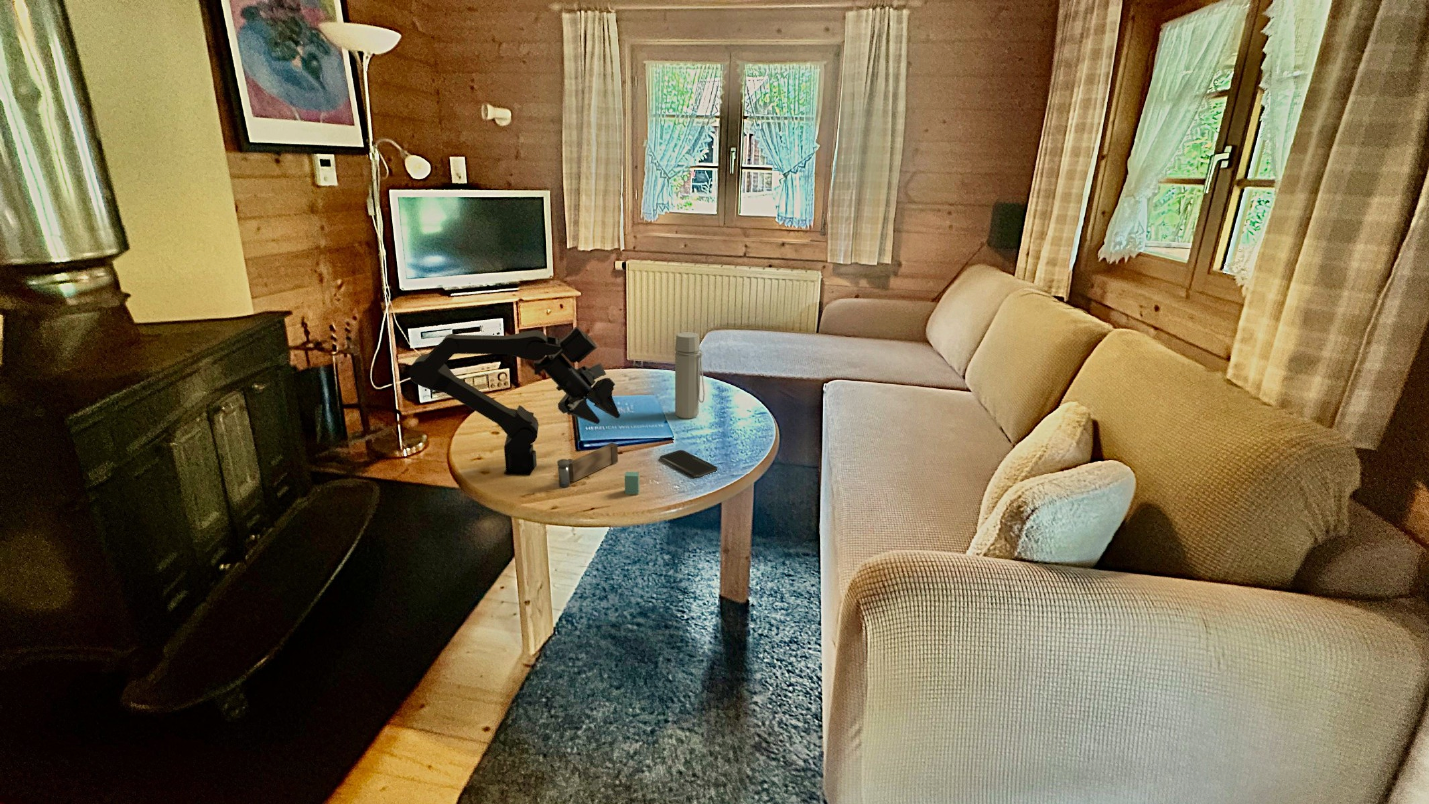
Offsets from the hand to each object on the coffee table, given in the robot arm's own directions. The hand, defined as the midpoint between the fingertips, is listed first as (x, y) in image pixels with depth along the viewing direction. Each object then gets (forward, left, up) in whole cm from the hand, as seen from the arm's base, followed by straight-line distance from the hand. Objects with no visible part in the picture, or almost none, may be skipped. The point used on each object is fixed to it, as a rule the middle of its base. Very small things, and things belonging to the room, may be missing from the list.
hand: (608, 420), depth 167 cm
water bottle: (+19, +36, -12) cm, 42 cm away
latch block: (+7, -15, -12) cm, 20 cm away
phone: (+20, +1, -13) cm, 23 cm away
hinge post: (-9, -12, -12) cm, 19 cm away
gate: (-4, -6, -12) cm, 14 cm away
